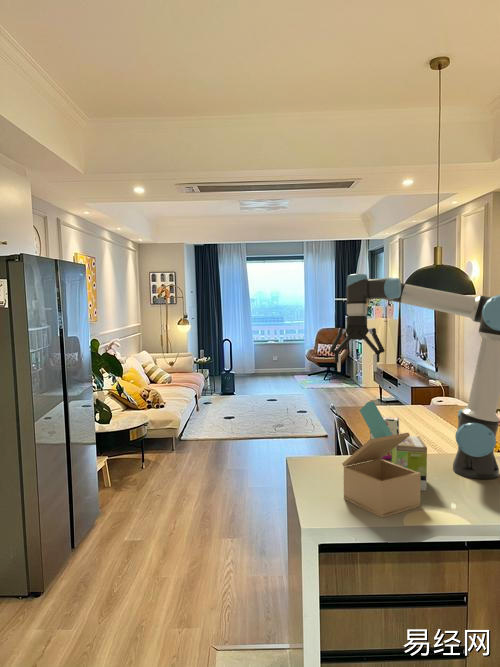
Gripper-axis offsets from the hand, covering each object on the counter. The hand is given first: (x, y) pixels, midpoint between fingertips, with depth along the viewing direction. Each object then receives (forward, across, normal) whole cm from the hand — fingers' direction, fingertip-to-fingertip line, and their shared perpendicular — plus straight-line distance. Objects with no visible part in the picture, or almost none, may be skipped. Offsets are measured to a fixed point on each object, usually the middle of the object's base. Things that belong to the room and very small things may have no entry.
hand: (356, 371), depth 169 cm
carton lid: (+21, +1, +31) cm, 38 cm away
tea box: (+37, -14, +16) cm, 43 cm away
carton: (+37, 0, +33) cm, 49 cm away
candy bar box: (+37, -14, -12) cm, 41 cm away
